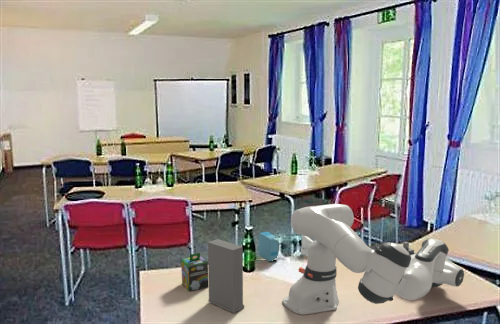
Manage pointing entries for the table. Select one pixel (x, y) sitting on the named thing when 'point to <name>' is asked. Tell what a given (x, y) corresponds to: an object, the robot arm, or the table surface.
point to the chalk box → (194, 272)
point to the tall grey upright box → (225, 275)
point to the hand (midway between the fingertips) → (403, 254)
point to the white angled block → (305, 245)
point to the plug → (406, 246)
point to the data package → (268, 246)
